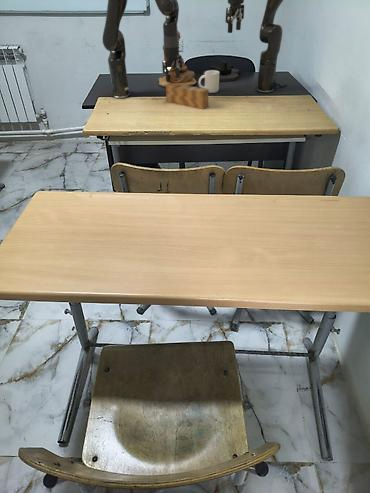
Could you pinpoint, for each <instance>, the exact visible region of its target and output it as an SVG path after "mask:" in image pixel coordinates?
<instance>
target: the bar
mask: <svg viewBox="0 0 370 493" xmlns="http://www.w3.org/2000/svg"><path fill="white" fill-rule="evenodd" d="M165 97H166V102H167V103H172V104H176V105H182V106H186V107H192V108H196V109H202V110H205V109H206V108H208V107H209V93H208V89H203V88H200V87H199V86H198V87H197V86H193V85H192V86H186V85H180V84H175V83H169V84H167V85H166V87H165Z"/></svg>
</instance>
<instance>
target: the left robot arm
mask: <svg viewBox="0 0 370 493" xmlns="http://www.w3.org/2000/svg"><path fill="white" fill-rule="evenodd" d="M154 3H155V4H156V6H157V9H158V11H159V12H160V13H161V14H162V15H163V16H165V20H164V22H163V24H162V29H163V30H162V34H163V45H164V50H163V56H164V55H165V56H166V61H164V60H162V63H161V64H162V67H161V68H162V74H164V75H165V74H166V81H167V82H170V81H171V80H170V72H171V70H172V68H174V67H175V69H176V70H175V72H176V78H180V68H182V58H183V57H181V56H182V55H181V56H179V55H180V40H179V41H178V31H179V30H178V22H179V14H180V13H179V12H180V7H179V2H178V0H154ZM127 5H128V0H107V6H106V17H105V23H104V28H103V32H102V37H101V38H102V40H101V41H102V45H103V47H104V49H105V50H107V51H108V52H109V55H108V58H107V64H108V70H109V75H110V83H111V89H112V97H113V98H114V99H125V98H128V97H130V90H129V89H130V88H129V82H128V81H129V79H128V74H127V66H126V65H127V64H126V57H127V56H126V55H127V50H126V41H125V37H124V33H123V32H122V31H121V30H120V24H121V21H122V19H123V16H124V13H125V11H126V8H127ZM179 63H180V65H179ZM168 67H169V68H168ZM165 69H166V70H165ZM168 70H169V71H168Z"/></svg>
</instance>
